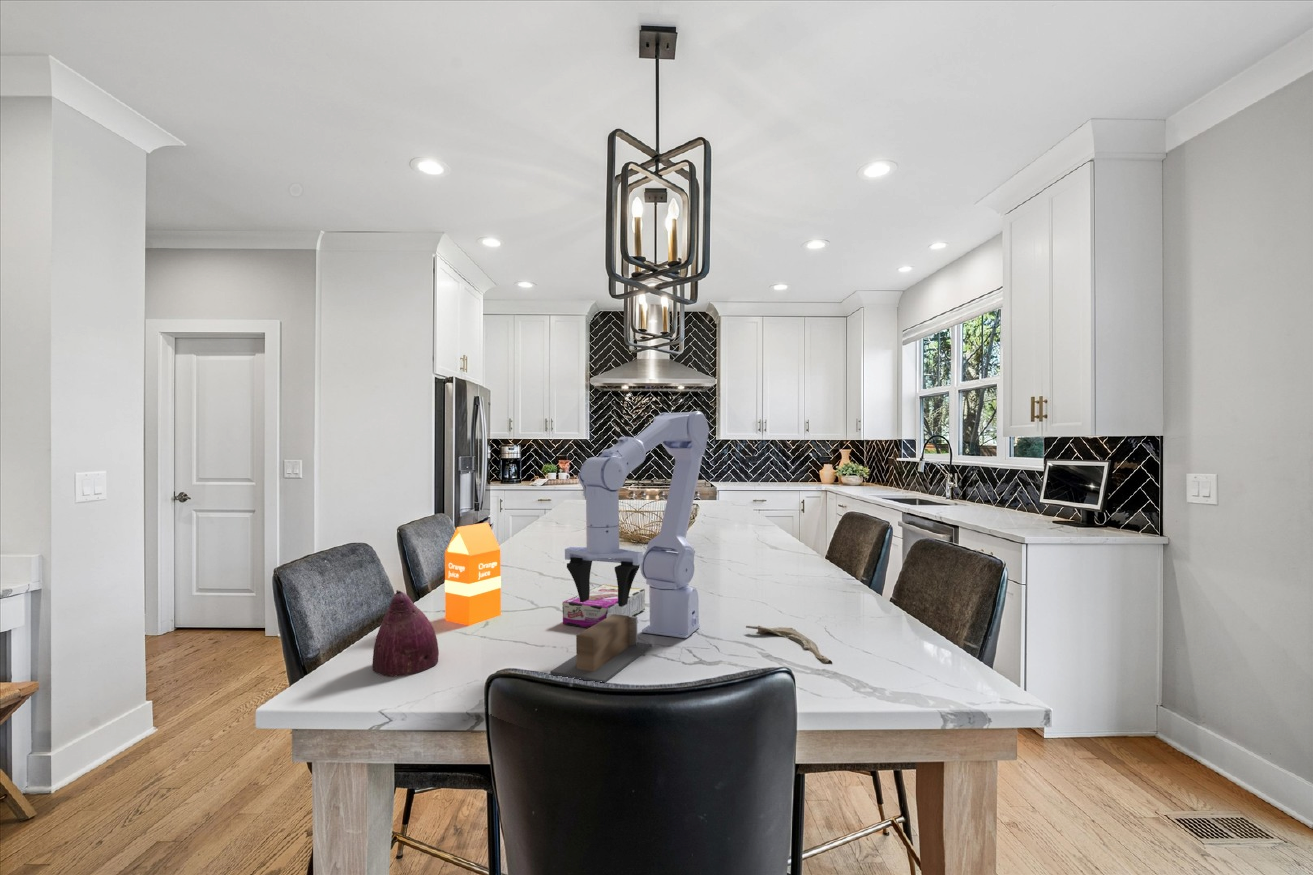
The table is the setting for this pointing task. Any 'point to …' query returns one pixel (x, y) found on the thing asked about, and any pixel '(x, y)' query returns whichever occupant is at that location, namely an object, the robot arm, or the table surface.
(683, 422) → the robot arm
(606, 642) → the tall tan post
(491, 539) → the orange juice
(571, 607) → the candy bar box
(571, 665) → the mat
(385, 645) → the vegetable
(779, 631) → the jawbone
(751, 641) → the table surface
